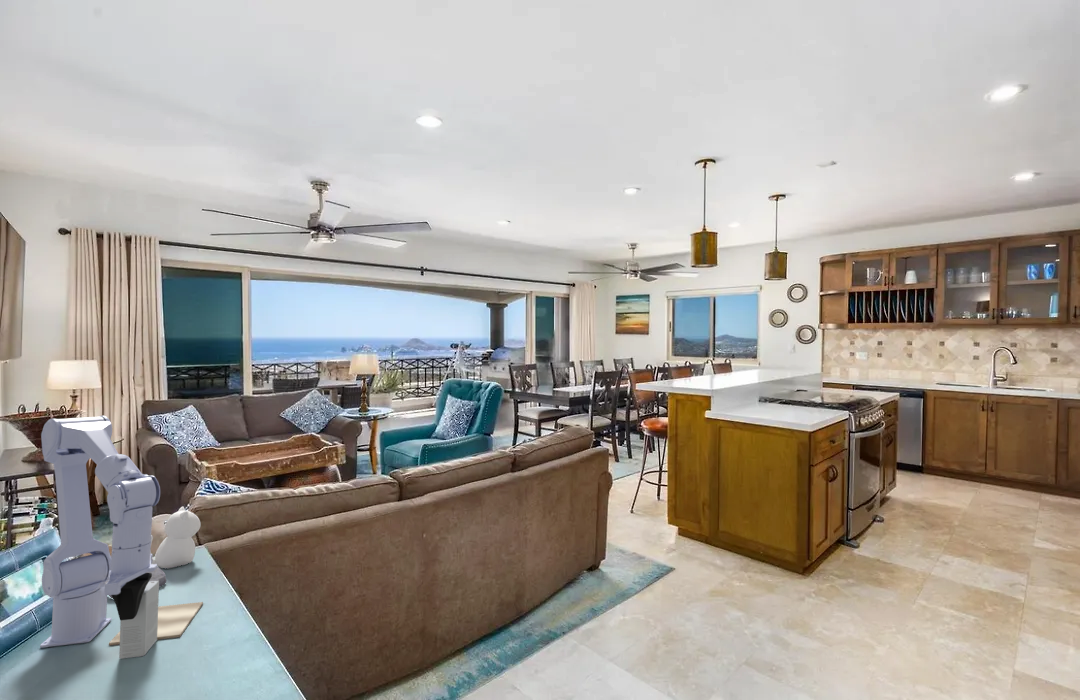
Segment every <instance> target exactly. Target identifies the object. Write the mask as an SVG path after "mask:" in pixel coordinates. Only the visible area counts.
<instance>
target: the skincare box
mask: <svg viewBox="0 0 1080 700" xmlns="http://www.w3.org/2000/svg"><path fill="white" fill-rule="evenodd" d="M159 593H160V587H159V581H149V582H148V584H147V586H146V588H145V590H144V593H143V595H142V599H141V602H140V606H139V609H138V612H137V615H136V616H135V618H134V619H130V620H120V622H119V624H120V626H119V632H120V644H119V653H118V655H119V657H118V658H119V660H120V659H130V658H137V657H139V658H140V657H144V656H146V654H147V653H148V651H150V649H151V648H152V646H154V644H155V643H156V642H157V641H158V640H157V630H158V607H159V601H160V599H159Z"/></svg>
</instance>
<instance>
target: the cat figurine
mask: <svg viewBox="0 0 1080 700" xmlns="http://www.w3.org/2000/svg"><path fill="white" fill-rule="evenodd" d="M200 528H201V520H200V518H199V517H198V516H197V515H196V513H194V512H192V511H190V510H186V509H185V506H181V507H180V508H179V509H178V511H176V512H174V513H171V515H169V517H168V519H167V520H166V523H165V527H164V532H165V534H166V537H165V538H164V539H163V540H162V542H161V543H160V544H159V546H158V547H157V549H156V552H155V554H154V557H153V558H152V564H157V567H158V568H160V569H163V568H165V569H166V568H167V569H173V568H177V566H178V567H180V566H181V565H182V566H185V565H188V563H189V564H190V563H192V561H194V558H195V554H196V545H195V541H194V539H193V538H192V537H193V536H194V535H196V534H197V533H198V531H199V530H200ZM153 539H154V536H153V535H152V534H151V544H152V542H153ZM150 554H152V551H151V550H150Z"/></svg>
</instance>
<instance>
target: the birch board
mask: <svg viewBox="0 0 1080 700" xmlns="http://www.w3.org/2000/svg"><path fill="white" fill-rule="evenodd" d="M203 604H204V602H203V601H199V602H190V603H180V604H169V605H161V606H159V605H158V630H157V640H156V641H159V640H165V639H174V638H175V639H176V638H180V637H182V635H183V633H184V632H185V630H186V629H187V627H189V625H190V623H191V622H192V621H193V619H194V617H196V615H197V614H198V612H199V610H200V609H201V608H202V607H203ZM114 645H115V646H117V645H120V631H119V632H117V634H116V635H115V636H114V637H113V638H112V639H111V640H109V642H108V646H114Z"/></svg>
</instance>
